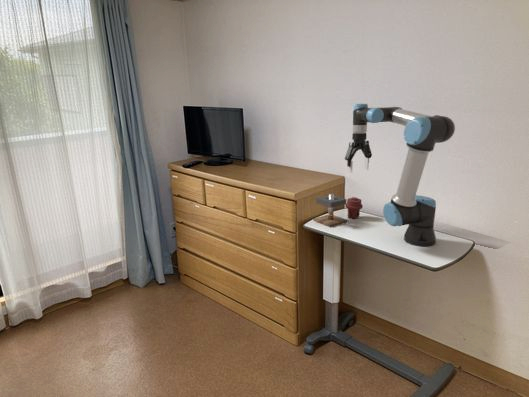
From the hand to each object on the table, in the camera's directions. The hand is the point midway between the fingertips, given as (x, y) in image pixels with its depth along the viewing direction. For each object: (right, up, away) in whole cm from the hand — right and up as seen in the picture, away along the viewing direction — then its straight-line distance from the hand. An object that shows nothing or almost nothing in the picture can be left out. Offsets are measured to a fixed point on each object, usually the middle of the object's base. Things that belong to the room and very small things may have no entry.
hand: (358, 170), depth 226 cm
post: (-14, -28, +9) cm, 32 cm away
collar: (-14, -19, +7) cm, 24 cm away
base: (-14, -29, +10) cm, 34 cm away
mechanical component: (+1, -27, +16) cm, 32 cm away
